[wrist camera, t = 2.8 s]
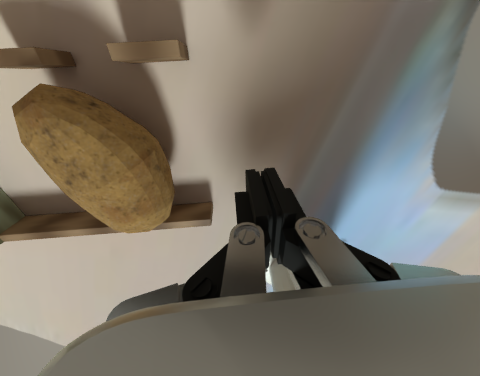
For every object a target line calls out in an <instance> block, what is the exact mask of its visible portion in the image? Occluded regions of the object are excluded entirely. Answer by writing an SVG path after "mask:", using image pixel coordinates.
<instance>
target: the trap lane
mask: <svg viewBox="0 0 480 376" xmlns="http://www.w3.org/2000/svg"><path fill="white" fill-rule="evenodd" d="M106 44H107V47H108V50H109V53H110V56H111V59H112V61H119V62H127V63H145V62H164V61H182V60H189V56H188V50H187V46H186V45H184V44H183V43H182V42H180V41H179V40H161V41H142V42H123V43H106ZM73 66H76V65H75V62H74V60H73V58H72V55H71V53H70V52H64V51H57V50H50V49H43V48H36V47H27V48H8V49H0V68H18V69H36V68H55V67H73ZM212 214H213V204H212V202H207V203H194V204H181V205H172V207H171V212H170V216H169V217H168V218H167V219H166V220H165V221H164V222H163V223H161V224H160V225H158V226H157V227H155V228H154V229H152V230H159V229H172V228H185V227H197V226H210V225H211V223H212ZM108 233H121V231H117V230H114V229H112V228H111V227H109V226H107V225H106V224H104V223H103V222H101V221H100V220H98V219H97V218H96V217H94V216H93V215H91V214H90V213H89V212H74V213H61V214H48V215H34V216H25V215H24V214H23V213H22V212H21V211H20V209H19V208H18V207H17V206H16V205H15V204H14V203H13V202H12V200H11V199H10V198H9V197H8V196H7V195H6V194H5V193H4V191H3V190H2V189H1V188H0V244H1V243H3V242H6V241H19V240H32V239H44V238H57V237H70V236H83V235H95V234H108Z"/></svg>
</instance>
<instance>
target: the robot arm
mask: <svg viewBox="0 0 480 376" xmlns="http://www.w3.org/2000/svg"><path fill="white" fill-rule="evenodd" d="M235 202H236V215H237V225H236V226H234V227H233V229H232V230H231V232H230V237H229V243H228V244H227V245H225V246H224V247H223V248H222V249H221V250H220V251H219V252H218V253H217V254H216V255H214V256H213V257H212V258H211V259H210V260H209V261H208V262H207V263H206V264H205V265H203V266H202V267H201V268H200V269H199V270H198V271H197V272H196V273H195V274H194V275H193V276H191V277H190V278H189V280H188V281H187V282H186V283H184V284H181V285H178V283H176V284H173V285H170V286H167V287H164V288H161V289H158V290H155V291H151V292H148V293H145V294H142V295H139V296H136V297H133V298H130V299H127V300H125V301H123V302H121V303H120V304H119V305H117V306H116V307H115V308H114V309H113V310H112V312H111V313H110V314H109V316H108V318H107V320H106V322H104V323H102V324H101V325H99V326H97V327H95V328H93V329H91V330H89V331H88V332H86V333H84V334H83V335H81V336H80V337H78V338H77V339H75V340H74V341H72V342H71V343H69V344H68V345H67V346H66V347H65V348H63V349H62V350H61V351H60V352H59V353H57V355H56V356H55V357H54V358H53V359H52V360H51V361H50V362H49V363H48V364H47V365H46V366H45V367H44V369H43V370H42V371H41V372H40V373H39V375H38V376H480V275H460V274H458V273H455V272H453V271H451V270H447V269H443V268H435V267H426V266H417V265H408V264H399V263H391V264H390V265H389V264H387V263H386V262H384V261H382V260H381V259H378V258H376V257H374V256H372V255H370V254H368V253H366V252H363V251H361V250H359V249H357V248H355V247H353V246H351V245H349V244H346V243H344V242H342V241H341V240H340V239H339V238H338V236H337V235H336V234H335V233H334V232H333V231H332V230H331V228H330V227H329V226H328V225H327V224H326V223H325V222H323V221H321V220H320V219H317V218H313V217H306V215H305V214H304V212H303V210H302V208H301V206H300V205H299V203H298V201H297V199H296V197H295V195H294V194H293V192H292V190H291V189H290V188H284V186H283V184H282V182H281V180H280V178H279V176H278V174H277V172H276V170H275V168H265V169H264V171H261V176H260V173H259V171H257V172H256V171H255V169H251V170H246V192H235ZM266 282H267V283H269V284H271V285H272V287H273V292H269V293H266Z"/></svg>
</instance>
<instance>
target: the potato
mask: <svg viewBox="0 0 480 376" xmlns="http://www.w3.org/2000/svg"><path fill="white" fill-rule="evenodd" d="M12 109H13V113H14V117H15V121H16V124H17V128H18V132H19V135H20V139H21V142H22V144H23V145H24V146H25V147H26V149H27V150H28V151H29V152H30V154H31V155H32V156H33V157H34V159H35V160H36V161H37V162H38V163H39V165H40V166H41V167H42V168H43V169H44V171H45V172H46V173H47V174H48V175H49V177H50V178H51V179H52V180H53V181H54V182H55V183H56V185H57V186H58V187H59V188H60V189H61V190H62V191H63V192H64V193H65V194H66V195H67V196H68V197H69V198H71V199H72V200H73V201H74V202H76V203H77V204H78V205H79V206H80V207H82V208H83V209H84V210H86V211H87V212H89V213H90V214H91V215H93V216H94V217H96V218H97V219H98V220H100V221H101V222H103V223H104V224H106V225H107V226H109V227H111V228H112V229H114V230H117V231H121V232H125V233H138V232H148V231H151V230H152V229H154V228H155V227H157V226H158V225H160V224H161V223H163V222H164V221H165V220H166V219H167V218H168V217H169V216H170V212H171V207H172V202H173V198H174V193H175V191H174V185H173V180H172V175H171V169H170V166H169V164H168V161H167V159H166V156H165V154H164V152H163V150H162V148H161V146H160V144H159V142H158V140H157V139H156V138H155V137H154V136H153V135H152V134H151V133H150V132H149V131H148V130H147V129H145V128H144V127H143V126H141V125H140V124H138V123H136V122H135V121H133V120H132V119H130V118H128V117H127V116H125V115H124V114H122V113H121V112H119V111H118V110H116V109H114V108H113V107H111V106H110V105H108V104H107V103H105V102H103V101H100V100H98V99H96V98H94V97H92V96H90V95H88V94H86V93H83V92H80V91H76V90H73V89H67V88H62V87H57V86H51V85H46V84H39V85H38V86H36V87H35V88H34V89H32V90H31V91H30V92H29V93H27V94H26V95H25V96H24V97H23V98H21V99H20V100H19V101H18V102H17V103H15V104H14V105H13V106H12Z"/></svg>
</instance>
